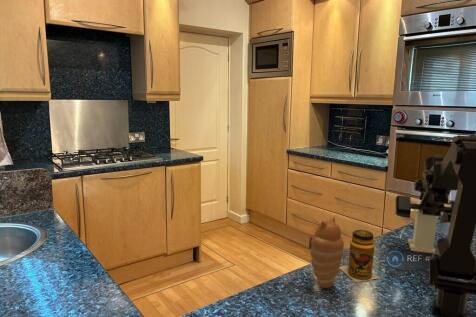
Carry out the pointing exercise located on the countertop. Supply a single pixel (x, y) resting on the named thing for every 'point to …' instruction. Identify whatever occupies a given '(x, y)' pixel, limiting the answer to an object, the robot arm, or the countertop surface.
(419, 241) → the tan rectangular pillar
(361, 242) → the condiment
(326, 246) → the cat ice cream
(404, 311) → the countertop surface
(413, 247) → the square plate with knob
